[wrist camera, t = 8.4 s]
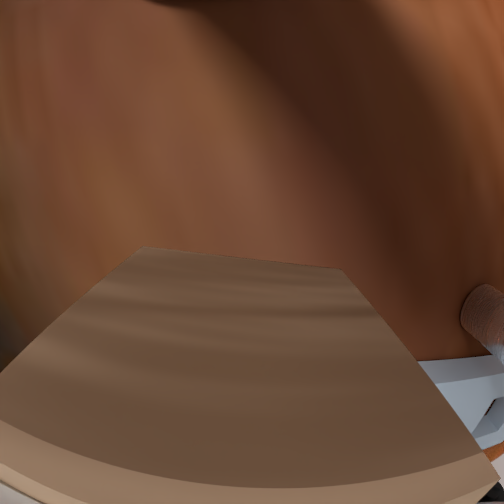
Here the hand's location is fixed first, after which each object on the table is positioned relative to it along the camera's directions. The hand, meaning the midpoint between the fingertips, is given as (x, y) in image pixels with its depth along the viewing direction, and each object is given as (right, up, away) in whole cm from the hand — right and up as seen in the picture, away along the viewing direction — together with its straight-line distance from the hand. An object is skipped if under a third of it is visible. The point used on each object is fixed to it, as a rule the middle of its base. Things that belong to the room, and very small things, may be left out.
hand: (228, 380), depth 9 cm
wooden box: (0, +1, +2) cm, 2 cm away
